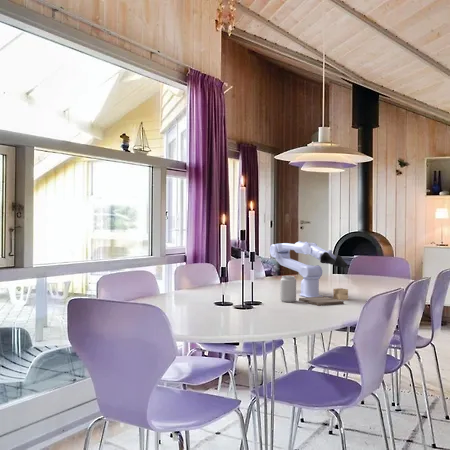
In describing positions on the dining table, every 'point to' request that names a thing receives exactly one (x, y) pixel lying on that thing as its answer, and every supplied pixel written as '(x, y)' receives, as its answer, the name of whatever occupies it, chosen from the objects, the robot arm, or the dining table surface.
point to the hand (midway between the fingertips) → (340, 264)
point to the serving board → (321, 301)
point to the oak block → (340, 294)
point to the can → (288, 289)
